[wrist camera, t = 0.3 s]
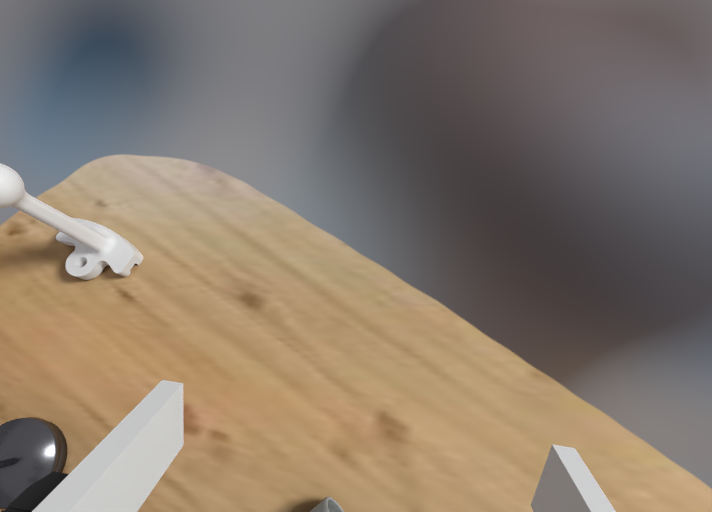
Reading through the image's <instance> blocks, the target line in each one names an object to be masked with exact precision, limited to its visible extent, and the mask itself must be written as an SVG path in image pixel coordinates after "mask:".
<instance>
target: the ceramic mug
mask: <svg viewBox="0 0 712 512" xmlns="http://www.w3.org/2000/svg"><path fill="white" fill-rule="evenodd" d="M310 512H344V511H343V509H342V508H341V507H340V505H339V504H338V503H337V502H336V501H335V500H334V499H333V498H331V497H326V498H325V499H323V500H322V501H321V502H320V503H319V504H318V505H317V506H316V507H314V508H313V509H312V510H311V511H310Z"/></svg>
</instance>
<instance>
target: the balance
mask: <svg viewBox="0 0 712 512" xmlns="http://www.w3.org/2000/svg"><path fill="white" fill-rule="evenodd" d="M66 458H67V443H66V439H65V437H64V435H63V433H62V431H61V430H60V429H59V428H58V427H57V426H56V425H54V424H53V423H51V422H48V421H46V420H43V419H40V418H34V417H29V418H21V419H15V420H12V421H9V422H6V423H4V424H2V425H1V426H0V508H7V506H8V505H9V504H10V503H11V502H12V501H14V500H15V499H16V498H17V497H18V496H19V495H20V494H21V493H22V492H23V491H24V490H25V489H26V488H28V487H29V486H30V485H32V484H34V483H35V482H37V481H39V480H40V479H42V478H43V477H45V476H47V475H48V474H50V473H52V472H59V473H62V471H63V468H64V466H65V462H66Z"/></svg>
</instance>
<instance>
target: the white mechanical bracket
mask: <svg viewBox="0 0 712 512" xmlns="http://www.w3.org/2000/svg"><path fill="white" fill-rule="evenodd" d="M5 207H14V208H17V209H19V210H21V211H23V212H25V213H26V214H28V215H30V216H32V217H34V218H36V219H38V220H40V221H41V222H43V223H45V224H47V225H49V226H51V227H53V228H55V229H56V230H58V231H60V232H59V233H58V234H57V235H56V240H58V241H60V242H62V243H64V244H66V245H70V246H75V250H74V252H73V253H71V254H70V255H69V257H68V258H67V260H66V270H67V272H68V273H69V274H70V275H72V276H75V277H78V278H81V279H84V280H90V279H93V278H95V277H97V276H98V275H99V274H100V273H101V272H102V271H103V269H104V268H105V267H106V266H107V265H109V266H110V267H111V268H112V270H113V271H114V272H115V273H117V274H119V275H121V276H124V277H126V276H128V275H129V274H130V273H131V272H130V270H131V268H132V267H133V266H134V264H135V263H136V264H138V265H139V264H140V263H141V262H142V260H143V256H142V254H141V253H140V252H139V251H138V250H137V249H136V248H135V247H134V246H133V245H132V244H131V243H130V242H128V241H127V240H126V239H124V238H123V237H121V236H119V235H118V234H116V233H115V232H113V231H111V230H110V229H108V228H106V227H104V226H102V225H99V224H97V223H94V222H91V221H87V220H83V219H77V218H71V217H69V216H67V215H65V214H63V213H62V212H60V211H58V210H56V209H54V208H52V207H51V206H49V205H47V204H45V203H43V202H41V201H40V200H38V199H36V198H34V197H32V196H31V195H29V194H28V193H27V192H26V191H25V189H24V183H23V180H22V179H21V177H20V176H19V174H18V173H17V172H16V171H14V170H13V169H11V168H10V167H8V166H6V165H3V164H0V208H5Z"/></svg>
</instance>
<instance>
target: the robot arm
mask: <svg viewBox="0 0 712 512" xmlns="http://www.w3.org/2000/svg"><path fill="white" fill-rule="evenodd" d="M182 446H183V383H178V382H172V381H166V380H162V381H161V382H160V383H159V384H158V385H157V386H156V387H155V388H154V389H153V390H152V391H151V392H150V393H149V394H148V395H147V396H146V397H145V398H144V399H143V400H142V401H141V402H140V403H139V404H138V405H137V406H136V407H135V408H134V409H133V410H132V411H131V412H130V413H129V414H128V415H127V416H126V417H125V418H124V419H123V420H122V421H121V422H120V423H119V424H118V425H117V426H116V427H115V428H114V429H113V430H112V431H111V432H110V433H109V434H108V435H107V436H106V437H105V438H104V439H103V440H102V441H101V442H100V443H99V444H98V445H97V446H96V448H95V449H94V450H93V451H92V452H91V453H90V454H89V455H88V456H87V457H86V458H85V459H84V460H83V461H82V462H81V463H80V464H79V465H78V466H77V467H76V468H75V469H74V470H73V471H72V472H71V473H70V474H64V473H59V472H52V473H50V474H48V475H47V476H45V477H43V478H42V479H40V480H39V481H37V482H35V483H34V484H32V485H30V486H29V487H28V488H26V489H25V490H24V491H23V492H22V493H21V494H20V495H19V496H18V497H17V498H16V499H15V500H14V501H12V502H11V503H10V504H9V505H8V506H7V508H6V510H5V511H2V512H137V511H138V510H139V508H140V507H141V505H142V504H143V502H144V501H145V500H146V498H147V497H148V495H149V494H150V492H151V491H152V490H153V488H154V487H155V485H156V484H157V482H158V481H159V479H160V478H161V477H162V475H163V474H164V472H165V471H166V469H167V468H168V467H169V465H170V464H171V462H172V461H173V459H174V458H175V456H176V455H177V454H178V452H179V451H180V449H181V448H182ZM531 506H532V509H533V511H534V512H616V511H615V510H614V508H613V507H612V505H611V503H610V502H609V500H608V499H607V497H606V496H605V494H604V493H603V491H602V490H601V488H600V486H599V485H598V483H597V482H596V480H595V479H594V477H593V476H592V474H591V473H590V471H589V469H588V468H587V466H586V465H585V463H584V462H583V460H582V459H581V457H580V456H579V454H578V452H577V451H576V449H575V448H571V447H564V446H558V445H552V447H551V449H550V452H549V455H548V458H547V461H546V464H545V466H544V469H543V472H542V475H541V478H540V481H539V483H538V486H537V489H536V492H535V495H534V498H533V501H532V503H531Z"/></svg>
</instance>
